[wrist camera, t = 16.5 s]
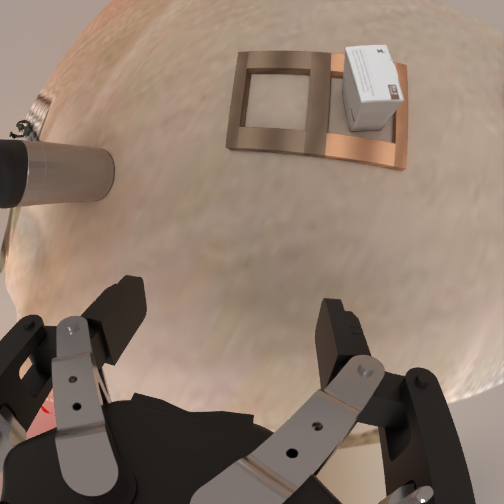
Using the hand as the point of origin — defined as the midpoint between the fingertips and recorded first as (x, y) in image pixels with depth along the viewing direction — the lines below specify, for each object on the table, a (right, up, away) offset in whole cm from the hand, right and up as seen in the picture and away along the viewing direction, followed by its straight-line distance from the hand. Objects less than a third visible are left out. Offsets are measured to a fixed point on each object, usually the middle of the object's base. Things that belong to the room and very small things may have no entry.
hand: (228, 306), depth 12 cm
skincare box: (+15, +20, +18) cm, 31 cm away
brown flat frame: (+10, +21, +19) cm, 30 cm away
